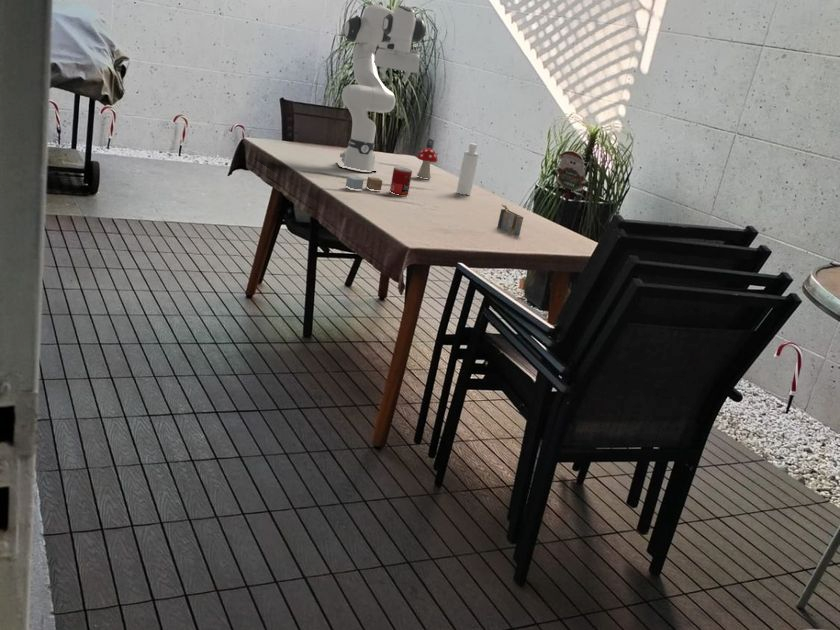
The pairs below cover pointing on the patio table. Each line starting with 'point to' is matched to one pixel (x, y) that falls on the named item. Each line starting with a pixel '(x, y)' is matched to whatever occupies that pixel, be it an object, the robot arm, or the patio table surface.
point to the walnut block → (374, 183)
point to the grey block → (354, 182)
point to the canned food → (401, 180)
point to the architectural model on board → (510, 221)
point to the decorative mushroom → (426, 162)
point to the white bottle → (468, 170)
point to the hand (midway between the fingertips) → (394, 80)
